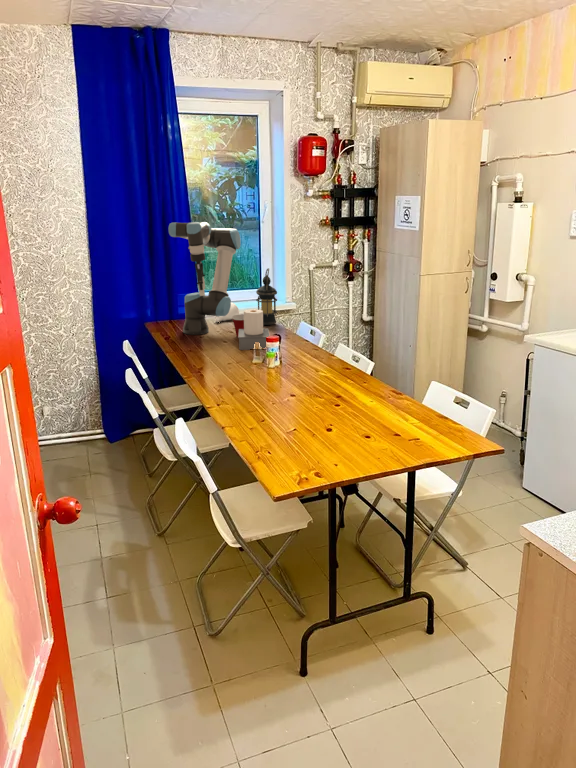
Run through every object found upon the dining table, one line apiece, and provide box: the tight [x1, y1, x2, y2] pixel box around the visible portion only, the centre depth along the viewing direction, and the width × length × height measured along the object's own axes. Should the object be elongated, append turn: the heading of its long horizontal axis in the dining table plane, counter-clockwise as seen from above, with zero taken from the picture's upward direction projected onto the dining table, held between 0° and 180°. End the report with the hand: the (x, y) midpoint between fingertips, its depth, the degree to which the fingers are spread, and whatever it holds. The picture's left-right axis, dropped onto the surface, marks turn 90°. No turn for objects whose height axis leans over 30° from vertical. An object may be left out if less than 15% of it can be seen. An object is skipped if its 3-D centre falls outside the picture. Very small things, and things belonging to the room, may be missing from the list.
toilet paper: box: [243, 308, 264, 335], centre depth 324 cm, size 10×10×12 cm
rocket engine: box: [213, 301, 240, 324], centre depth 383 cm, size 12×12×18 cm
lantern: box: [255, 268, 278, 326], centre depth 370 cm, size 14×13×35 cm
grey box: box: [237, 328, 270, 351], centre depth 327 cm, size 19×17×7 cm
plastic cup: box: [231, 313, 244, 338], centre depth 345 cm, size 11×11×12 cm
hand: (202, 292), depth 322 cm, fingers open, 13 cm apart
